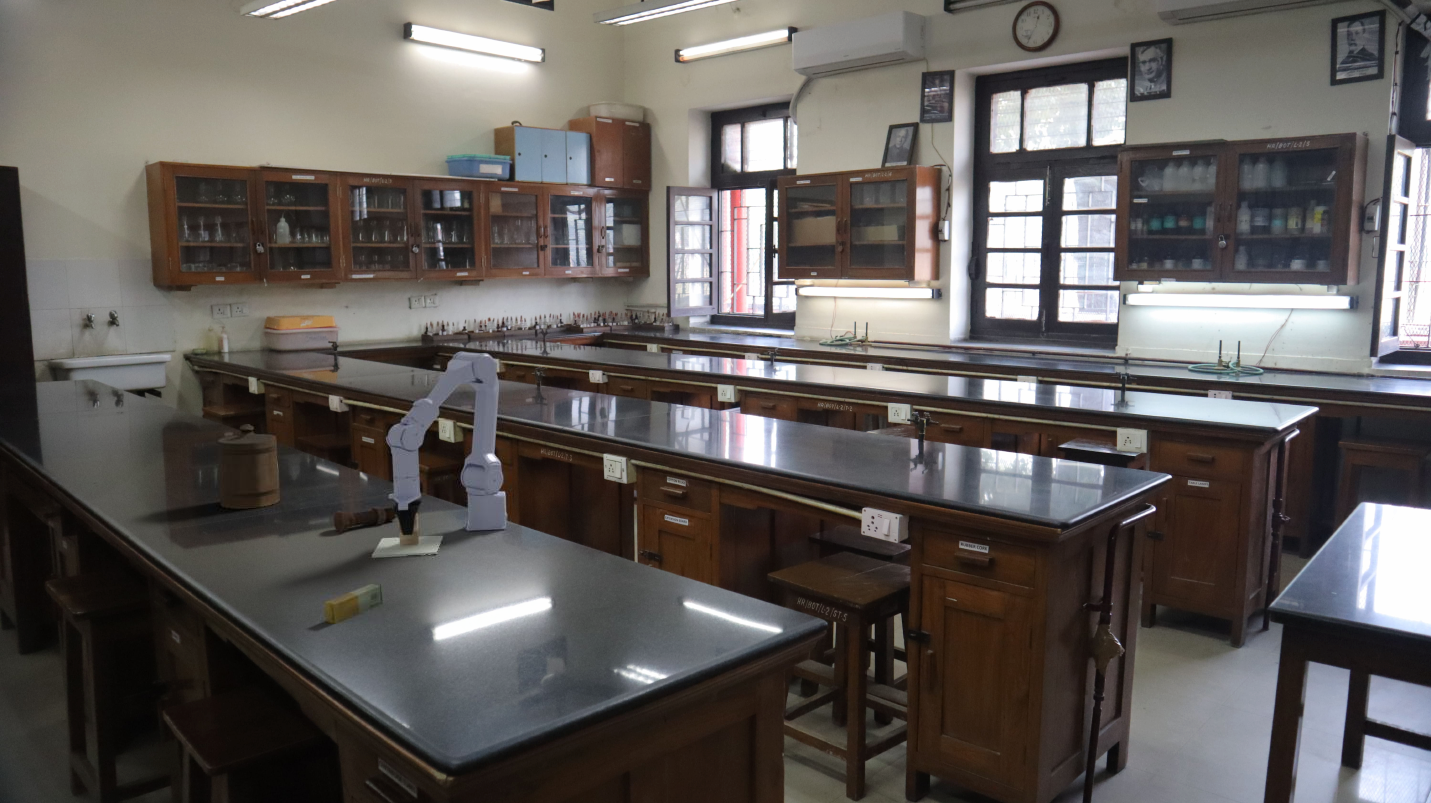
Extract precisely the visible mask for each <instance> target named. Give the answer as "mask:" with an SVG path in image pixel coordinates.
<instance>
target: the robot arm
mask: <svg viewBox="0 0 1431 803" xmlns="http://www.w3.org/2000/svg"><path fill="white" fill-rule="evenodd" d="M446 367H447V369H446V370H445V371H444V373H443V374H442V376H441V377H440V379H439V380H438V382H437V383H436V384H435V386H434V387H433V389H432V390H431V391H430V392H429V394H428V395H427V397H426V398H420V399H418V400H415V401H414V402H413V404H412V408H411V409H409V411H408V413H407V414H406V415H405V416H404V417H402V418H401V420H400V423H397V424H394V425H393V426H391V428H390V429H389V430H388V433H387V436H386V437H385V440H386V443H387V445H388V446H389V447H390V451H391V452H390V453H391V454H392V473H393V474H392V476H393V493H390V494H389V495H388V499H389V500H390V499H391V500H392V499H393V500H394V501H395V504H394V505H393V506H392V508H393V510H394V512H395V513H396V516H397V517H396V518H397V519H398V524H399V523H400V526H401V530H402V534H403V535H412V534H413V530H414V521H415V515H416V513H418V512H419V508H420V507H421V506H420V505H421V503H422V501H423V500H422V499H421V498H422V493H421V489H420V488H421V486H420V464H419V462H420V459H419V448H420V447H421V446H422V445H423V443H424V439H425V434H426V431H427V430H428V429H429V427H431V425H432V424H433V423H434V421H435V420H436V419H437V418H438V416H439V415H440V409H439V408H440V406H441V405H442V404H443V402H444V401H445V400H447V399H448V397H450V396H451V394H452V393H453V392H454V391H455V390H456V389H457V387H458V386H459V385H461V384H466V383H468V384H469V385H470V386H471V387H472V388H473V390H475V403H474V417H473V418H474V419H473V427H472V428H473V432H472V442H471V444H472V446H471V453H470V454H469V455H468V456H466V458H465V460H464V466H463V468H462V470H461V472H460V481H461V484H462V486H463V487H464V488H465V492H467V510H468V511H467V512H468V522H467V524H466V527H465V531H468V532H469V531H488V530H489V531H492V530H493V531H494V530H505V529H506V525H507V521H508V513H507V503H506V502H507V499H506V498H507V496H506V491H500V489H501V488H502V485H503V484H504V474H503V472H502V462H501V461H500V459H499V458H498V457H497V456H496V454H495V451H496V450H495V447H496V435H497V419H498V408H499V407H498V406H499V394H500V393H499V392H500V383H499V378H498V374H497V370H498V363H497V361H496V360H495V359H494V357H492V355H490V354H489V353H484V352H483V353H477V352H467V351H459V352H456V353H454V355H453V356H452V359H450V360H449V361H448V362H447V366H446Z"/></svg>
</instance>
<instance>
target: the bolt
mask: <svg viewBox="0 0 1431 803" xmlns="http://www.w3.org/2000/svg"><path fill="white" fill-rule="evenodd" d="M396 518H398V517H397V515H396V513H395V512H394V510H393V507H386V508H383V507H381V506H373V507H372V509H370V510H367V511H360V512H354V513H348V512H346V511H345V510H342V509H340V510H336V511H335V513H334V514H333V525H334V529H335V530H336V531H337V532H339V533H346V532H348V530H349V528H352V527H357V526H362V525H369V524H373V525H378V526H379V525H384V524H385V522H388V521H393V520H395V519H396Z"/></svg>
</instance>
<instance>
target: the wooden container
mask: <svg viewBox="0 0 1431 803" xmlns="http://www.w3.org/2000/svg"><path fill="white" fill-rule="evenodd" d="M254 429H255V428H254V426H253V425H251V424H249V423H247V424H242V425H241V426H240V427H239V431H240V433H239V434H238V435H231V436H226V437H221V438H219V439H218V440H217V451H218V453H217V454H218V480H219V497H220V498H219V499H220V506H221V507H222V508H224V507H225V509H229V508H230V509H231V510H249V508H252V509H257V508H258V507H259V508H264V506H265V507H269V506H272V504H273V505H275V504H277V503H279V502H280V500H281V494H280V493H281V491H280V476H279V473H280V472H279V465H278V452H277V451H278V450H277V448H278V446H277V443H278V442H277V436H276V435H273V434H266V433H265V434H264V433H262V434H261V433H259V434H258V433H254ZM259 508H258V509H259Z"/></svg>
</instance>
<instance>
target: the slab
mask: <svg viewBox="0 0 1431 803" xmlns="http://www.w3.org/2000/svg"><path fill="white" fill-rule="evenodd" d="M398 531H399V533H398V534H399V537H400V546H404V545H418V543H419V537H420V534H419V533H420V531H419V513H418V512H417V513H416V515H415V521H414V530H413V534H412V535H403V534H402V530H401V526H400V523H399V522H398Z"/></svg>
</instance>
